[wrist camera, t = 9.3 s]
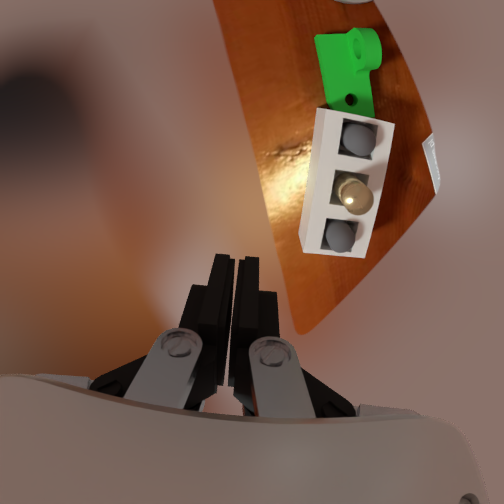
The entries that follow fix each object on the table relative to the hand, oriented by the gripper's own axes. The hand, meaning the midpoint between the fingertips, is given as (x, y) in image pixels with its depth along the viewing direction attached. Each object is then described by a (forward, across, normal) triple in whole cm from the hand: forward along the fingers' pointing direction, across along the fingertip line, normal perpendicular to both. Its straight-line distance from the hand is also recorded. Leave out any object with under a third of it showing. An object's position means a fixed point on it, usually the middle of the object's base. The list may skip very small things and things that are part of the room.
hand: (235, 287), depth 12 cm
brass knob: (+28, -12, +2) cm, 31 cm away
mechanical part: (+32, -11, -12) cm, 36 cm away
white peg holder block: (+32, -12, +2) cm, 35 cm away
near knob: (+31, -12, -4) cm, 33 cm away
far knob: (+31, -12, +9) cm, 34 cm away
